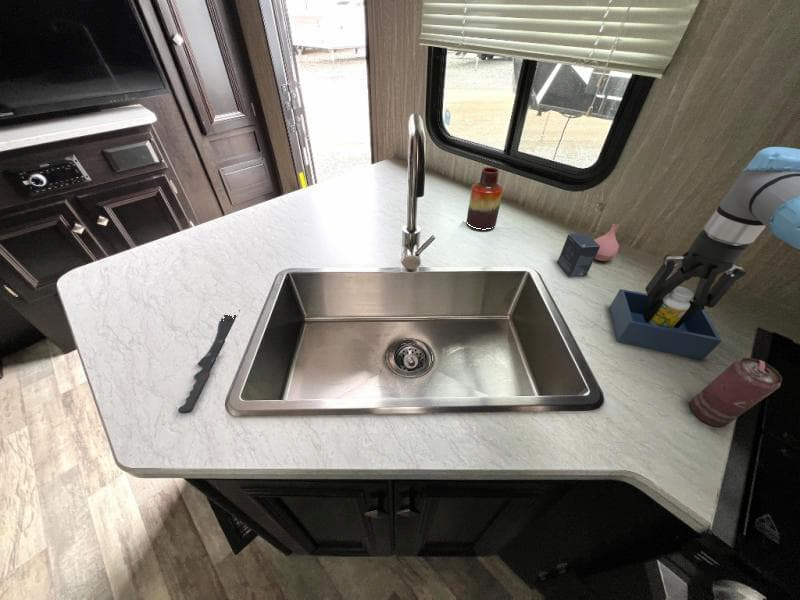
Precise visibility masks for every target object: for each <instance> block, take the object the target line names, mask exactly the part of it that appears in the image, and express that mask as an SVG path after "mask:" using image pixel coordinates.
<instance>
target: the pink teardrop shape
mask: <svg viewBox="0 0 800 600" xmlns="http://www.w3.org/2000/svg"><path fill="white" fill-rule="evenodd" d="M618 228H619V224H617V223H612V224H611V228H610V229H609V230H608V232H606V233H604V234H603V235H601V236H599V237H596V238H595V239H593V240H594V241H595V242H596V243H597V244H599V245H600V248H599V250H598V252H597V254H596V257H595V259H594V260H597V261H600V262H601V261H602V262H609V261H611V260H613V259H614V257H615V256H617V255H618V252H619V248H620V245H619V242H618V241H617V238H616V231H617V230H618Z"/></svg>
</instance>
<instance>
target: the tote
mask: <svg viewBox="0 0 800 600" xmlns="http://www.w3.org/2000/svg"><path fill="white" fill-rule="evenodd" d="M649 298H650V297H649V296H648V295H647V292H646V293H645V292H639V291H634V290H629V289H623V288H620V289H619V290H618V292H617V293H616V294H615V297H614V299H613V300H612V302H611V304H610V305H609V307H608V309H609V310H608V311H609V314H610V318H611V323H612V327H613V331H614V335H615V339H616V342H617V343H622V344H625V345H631V346H636V347H640V348H645V349H648V350H649V349H650V350H654V351H659V352H664V353H668V354H673V355H677V356H682V357H687V358H692V359H696V360H700V361H704V359H705V358H706V357H707V356H709V355H710V354H711V352H713V350H715V349H716V348H717V347H718V345H720V344H721V343H722V342H723V340H722V338H721V336H720V335H719V332H718V331H717V329H716V327H715V326H714V324H713V322H712V321H711V319H710V316H709V315H708V313H707V311H706V310H705V309H704V310H698V311H697V312H696V313H695V314H694V315H693V316H692V317H687V319H686V320H685V321H684V322H683V323H682V324H681V326H680V327H679V328H674V327H673V328H672V329H671V328H666V327H661V326H656V325H652V324H651V323H650V322H649V323H648V322H645V320H644V317H643V313H644V312H645V310H646V309H647V307H646V303H647V301H648V300H649Z"/></svg>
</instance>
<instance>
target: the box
mask: <svg viewBox="0 0 800 600" xmlns="http://www.w3.org/2000/svg"><path fill="white" fill-rule="evenodd" d="M594 240H595V239H593V238H592V237H591V236H590V235H589V234H588V233H586V232H574V233H573V232H572V233H568V234H567V237H566V239H565V242H564V244H563V247H562V250H561V252H560V254H559V257H558V259H557V264H558V265H559V267H561V269H562V270H563V271H564V273H565V274H566V275H567V276H568V277H569V278H572V277H573V278H574V277H586V276H587V275H588V273H589V271H590V269H591V267H592V265H593V263H594V261H595V260H596V259H595V257H596V254H597V252H598V250H599V248H600V245H599V244H597V243H596V242H595V241H594Z"/></svg>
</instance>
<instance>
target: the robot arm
mask: <svg viewBox="0 0 800 600" xmlns="http://www.w3.org/2000/svg"><path fill="white" fill-rule="evenodd" d="M766 228H767V229H768V230H769V231H771V233H772V234H773V235H774V236H775V237H776V238H777V239H780V241H782V242H784V243H786V244H788V245H790V246H791V247H793V248H795V249H797V250H800V148H794V147H786V146H770V147H765V148H763V149H761V150H759V151H758V152H756V154H755V155H754V157H752V159H751V160H750V162H749V163H748V164H747V166H746V167H745V168H743V169H742V170H741V172H740V175H739V176H738V178H737V179H736V180H735V181H734V183H733V184H732V186H731V187H730V189H729V191H728V192H727V194H726V195H725V197H724V198H723V199H722V201H720V203H719V206H718V207H716V209H715V211H714V212H713V213H712V215H711V217H710V218H709V219H708V220H707V222H706V224H704V226H703V229H702V230H700V232H699V233H698V234H697V236H696V237H695V238H694V240H693V242H692V243H691V245H690V247H689V249H688V250H687V251H686V252H684V253H683V254H681V255H678V256H672V255H671V254H669V253H668V254H666V255H664V257H663V261H662V264H661V265H660V267H659V269H658V270H657V271H656V273H655V274H654V275H653V277H652V278H651V279H650V281H649V282H648V284H647V285H646V286H645V292H646V294H647V295H648V296H649V297H650V298H649V300H648V301H647V303H646V307H647V309H646V310H645V312H644V313H643V317H644V320H645V322H648V323H649V321H650V320H651V319H652V317H653V316H654V315H655V313H656V312H657V311H658V309H659V308H660V307H661V305H662V304H663V303H664V302H663V300H662V298H664V297H665V296H666V295H668V294H669V293H670V292H671V291H673V290H674V289H675V288H676V287H678V286H680V285H681V284H683V283H684V282H687V281H690V279H692V278H699V280H698V282H697V285H696V288H695V291H694V293H693V294H694V296H693V297H692V299H691V300H690V301H689V302H690V307H689V309H688V310H687V311H686V312H685V314H684V315H683V316H682V317H681V319H680V320H679V321H678V322H677V324H676V325H675V326H674V328H679V327H680V326H681V324H682V323H683V322H684V321H685V320H686V319H687V317H692V316H693V315H694V314H695V313H696V312H697V311H698V310H705V307H707V308H710V309H711V308H712V309H713V308H714V307H716V305H717V304H718V303H719V302H720V301H721V299H722V298H723V297H724V296H725V294H726V293H727V292H728V291H729V290H730V289H731V287H732V286H733V285H734V284H735V283H736V282H737V281H739V280H740V279H741V278H742V277H744V276H746V274H747V273H746V271H745V270H744V268H743V267H742V266H741V265H740V264H734V263H735V262H737V261H739V259H740V258H741V257H742V255H743V254H744V253H745V252H746V251H747V250H748V248H749V247H750V244H752V243H754V242H755V240H756V239H757V238H758V237H759V235H761V234H762V232H763V231H764V229H766ZM679 264H681V265H680V266H679V267H678V265H679ZM677 267H678V268H677ZM676 268H677V269H676ZM674 269H676V271H675V272H674V273H673V271H674ZM672 273H673V274H672ZM671 274H672V275H671ZM718 275H720V277H719V278H718V280H717V281H716V279H717V276H718ZM715 281H716V282H715ZM713 284H714V285H713ZM712 285H713V286H712Z"/></svg>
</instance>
